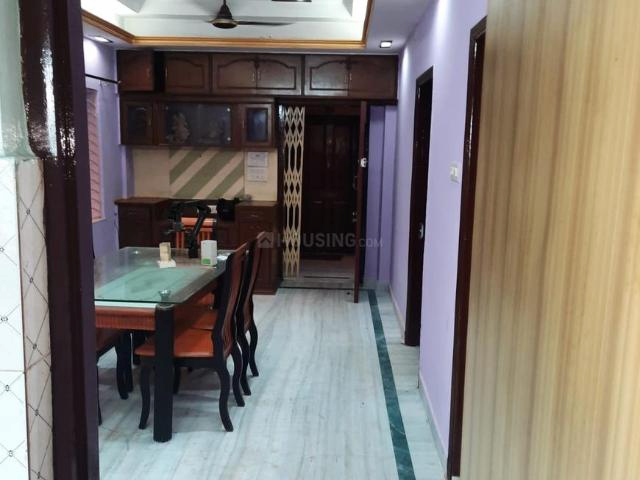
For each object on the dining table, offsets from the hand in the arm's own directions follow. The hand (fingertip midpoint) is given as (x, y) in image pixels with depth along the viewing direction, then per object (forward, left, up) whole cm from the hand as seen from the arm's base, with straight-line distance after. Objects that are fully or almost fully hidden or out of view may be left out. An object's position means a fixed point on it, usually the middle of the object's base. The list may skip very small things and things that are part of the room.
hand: (178, 243), depth 371 cm
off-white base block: (+10, +10, -12) cm, 19 cm away
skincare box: (-16, +21, -13) cm, 29 cm away
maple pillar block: (+10, +10, -9) cm, 17 cm away
